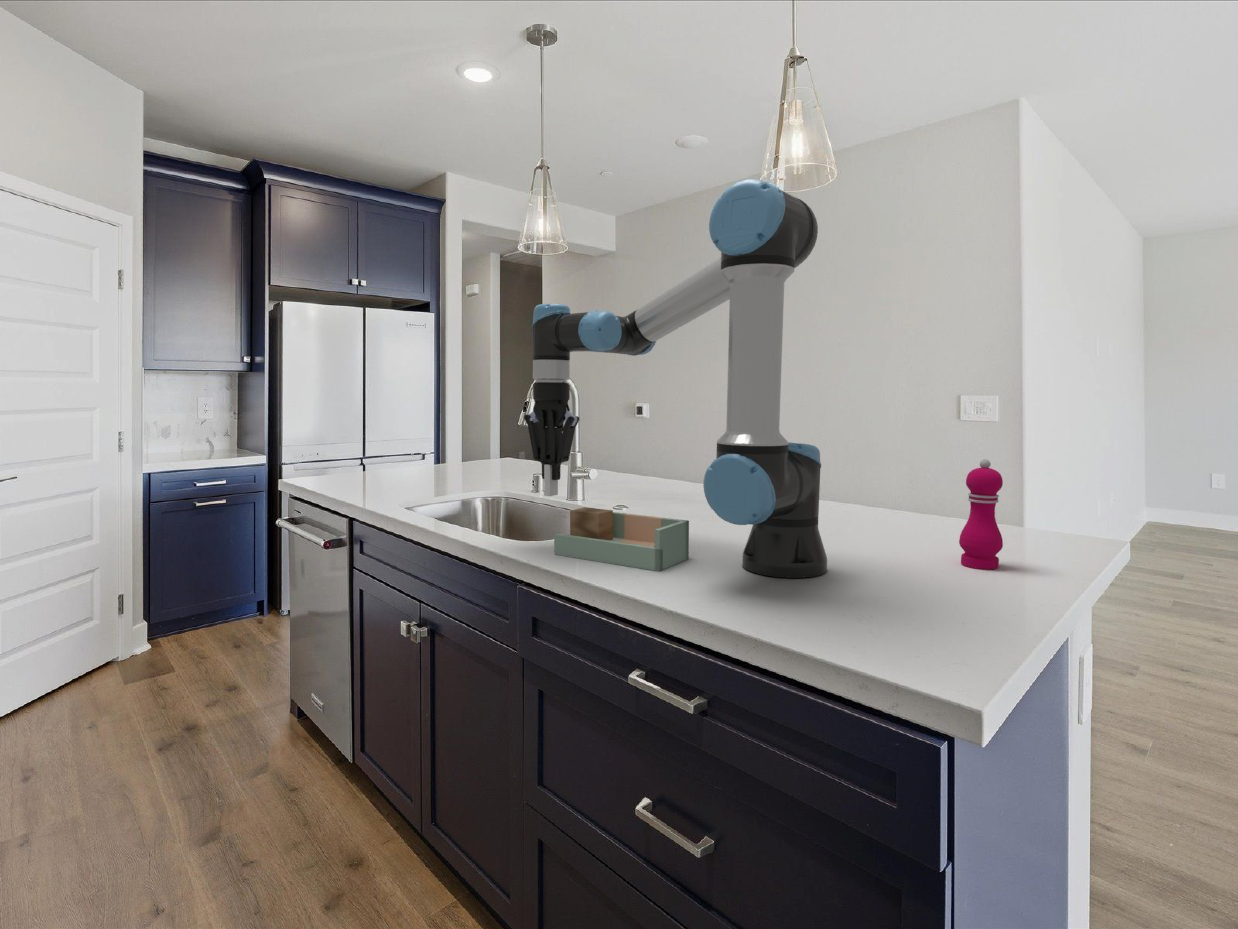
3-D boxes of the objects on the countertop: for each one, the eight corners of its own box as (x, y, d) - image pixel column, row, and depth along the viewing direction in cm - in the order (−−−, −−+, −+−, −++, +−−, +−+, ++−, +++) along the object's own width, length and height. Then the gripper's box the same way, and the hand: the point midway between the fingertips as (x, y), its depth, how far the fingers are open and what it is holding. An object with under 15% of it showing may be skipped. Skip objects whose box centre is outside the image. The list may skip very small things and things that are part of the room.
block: (612, 539, 138) (612, 510, 137) (598, 544, 134) (598, 513, 133) (584, 535, 142) (584, 507, 141) (570, 540, 137) (570, 510, 137)
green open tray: (688, 558, 132) (688, 520, 132) (659, 571, 123) (659, 530, 122) (587, 543, 145) (587, 509, 145) (554, 554, 136) (554, 517, 135)
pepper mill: (1007, 571, 123) (1014, 461, 121) (964, 569, 125) (970, 460, 123) (993, 561, 130) (1000, 457, 128) (953, 560, 132) (958, 457, 130)
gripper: (587, 382, 140) (586, 496, 142) (538, 381, 147) (538, 490, 149) (565, 381, 133) (564, 500, 136) (515, 381, 140) (515, 494, 143)
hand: (551, 495), depth 142 cm, fingers closed
